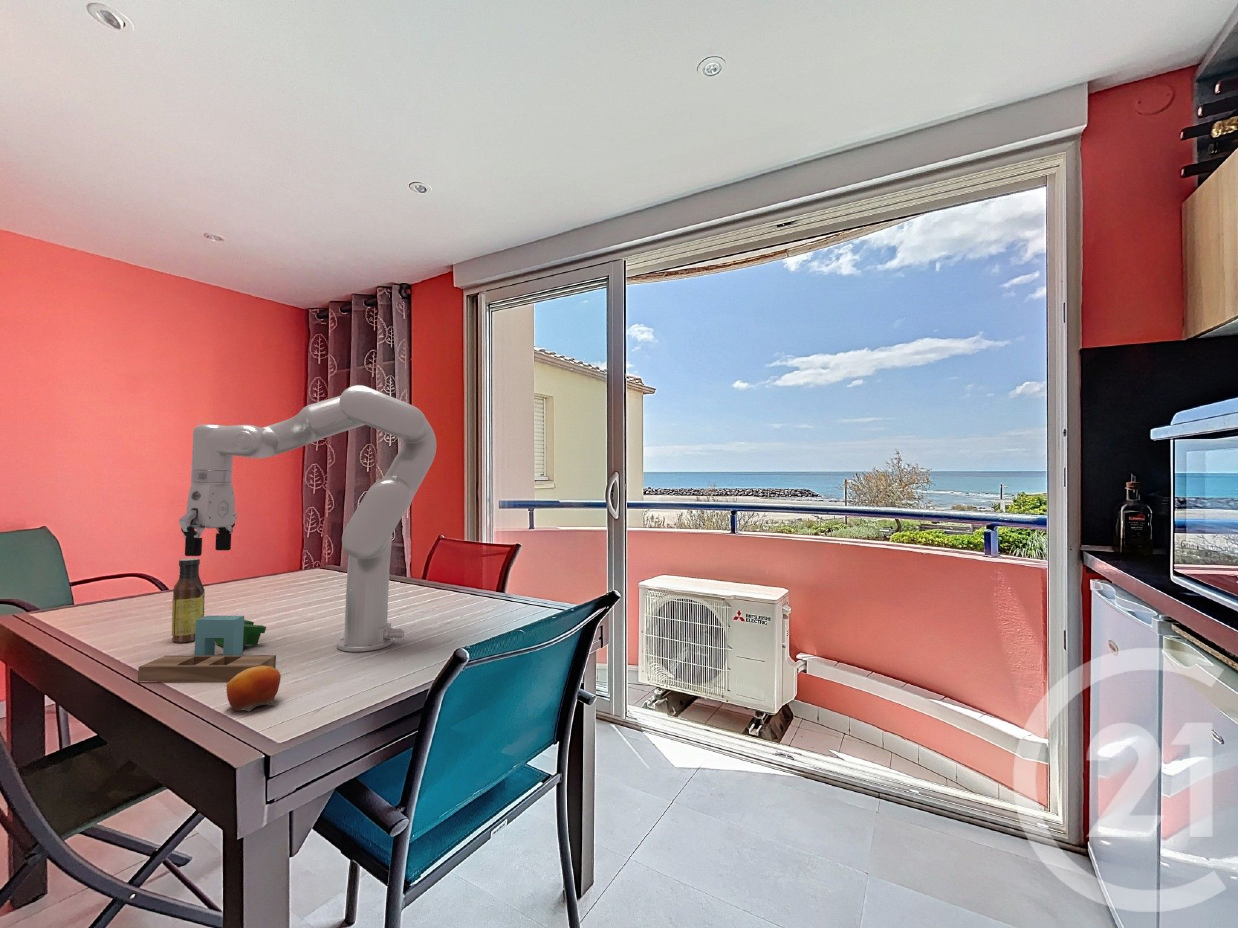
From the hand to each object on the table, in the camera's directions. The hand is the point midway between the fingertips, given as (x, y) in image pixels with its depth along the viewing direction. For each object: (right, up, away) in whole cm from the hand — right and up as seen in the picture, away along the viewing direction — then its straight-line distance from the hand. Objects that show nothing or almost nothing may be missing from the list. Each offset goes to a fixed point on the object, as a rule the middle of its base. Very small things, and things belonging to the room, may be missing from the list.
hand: (208, 552), depth 124 cm
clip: (+5, -23, -3) cm, 24 cm away
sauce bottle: (-12, -23, +9) cm, 28 cm away
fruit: (+29, -23, -27) cm, 46 cm away
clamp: (+3, -24, +6) cm, 25 cm away
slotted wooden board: (+11, -23, -14) cm, 29 cm away
